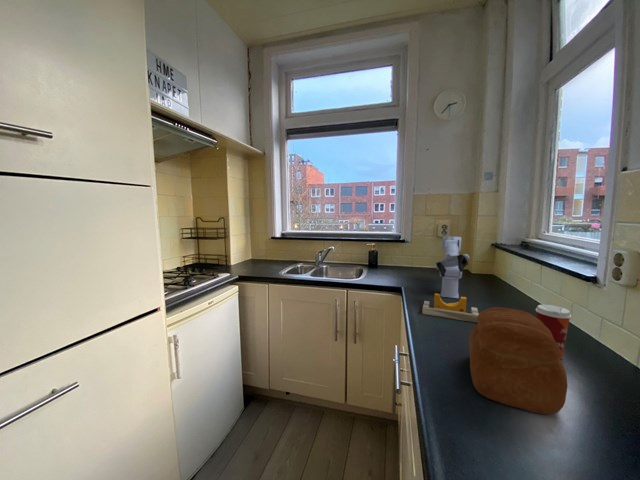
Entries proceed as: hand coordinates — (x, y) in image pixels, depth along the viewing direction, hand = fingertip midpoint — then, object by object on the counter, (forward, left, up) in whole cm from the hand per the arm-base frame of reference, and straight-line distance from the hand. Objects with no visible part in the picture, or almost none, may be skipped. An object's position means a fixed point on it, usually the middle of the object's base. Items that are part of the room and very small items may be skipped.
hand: (451, 272), depth 110 cm
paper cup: (+28, +26, -16) cm, 41 cm away
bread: (+48, +13, -16) cm, 52 cm away
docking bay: (+6, 0, -16) cm, 17 cm away
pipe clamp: (+1, 0, -16) cm, 16 cm away
